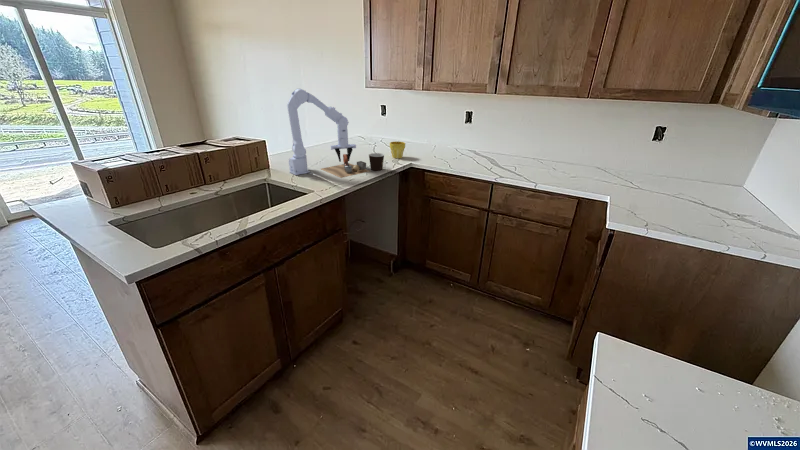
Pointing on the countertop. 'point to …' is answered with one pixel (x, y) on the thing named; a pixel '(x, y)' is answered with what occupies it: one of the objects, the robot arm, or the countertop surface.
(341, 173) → the nutcracker base
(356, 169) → the walnut
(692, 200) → the countertop surface
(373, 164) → the coffee mug
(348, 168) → the lever
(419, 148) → the countertop surface
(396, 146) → the plant pot
